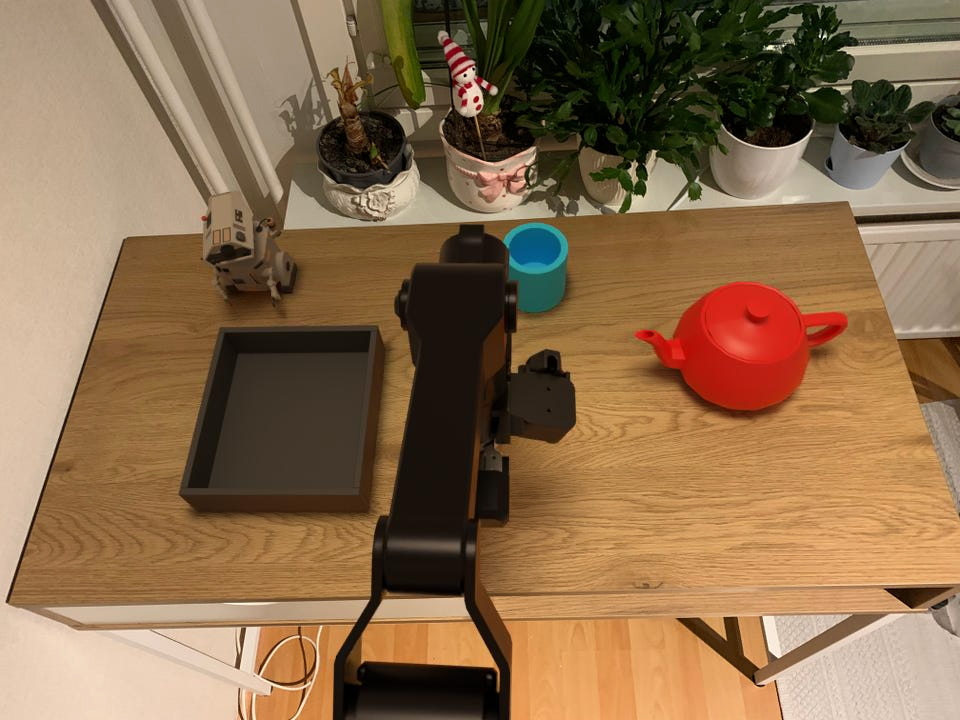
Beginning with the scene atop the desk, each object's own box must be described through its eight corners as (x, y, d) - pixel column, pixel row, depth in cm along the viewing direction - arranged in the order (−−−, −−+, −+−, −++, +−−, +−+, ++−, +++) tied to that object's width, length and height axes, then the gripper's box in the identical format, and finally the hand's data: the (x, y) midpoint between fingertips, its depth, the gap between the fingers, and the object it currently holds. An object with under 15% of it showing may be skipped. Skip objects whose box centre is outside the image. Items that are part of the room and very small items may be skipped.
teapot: (804, 301, 93) (840, 239, 82) (849, 408, 85) (895, 354, 74) (611, 324, 93) (622, 265, 82) (638, 434, 84) (654, 383, 74)
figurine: (218, 328, 95) (171, 255, 83) (237, 259, 101) (196, 182, 89) (286, 328, 95) (249, 255, 82) (301, 259, 101) (268, 181, 88)
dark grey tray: (368, 512, 81) (359, 494, 76) (198, 512, 82) (178, 494, 78) (385, 349, 92) (378, 324, 88) (235, 350, 93) (219, 326, 89)
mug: (560, 260, 98) (562, 219, 91) (569, 309, 94) (573, 270, 87) (472, 269, 98) (468, 229, 91) (477, 319, 94) (474, 281, 87)
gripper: (577, 492, 51) (566, 555, 65) (569, 281, 61) (561, 374, 74) (421, 490, 52) (442, 553, 65) (438, 282, 62) (453, 374, 75)
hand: (480, 457), depth 70 cm, fingers closed on sprinkles bottle, 4 cm apart
